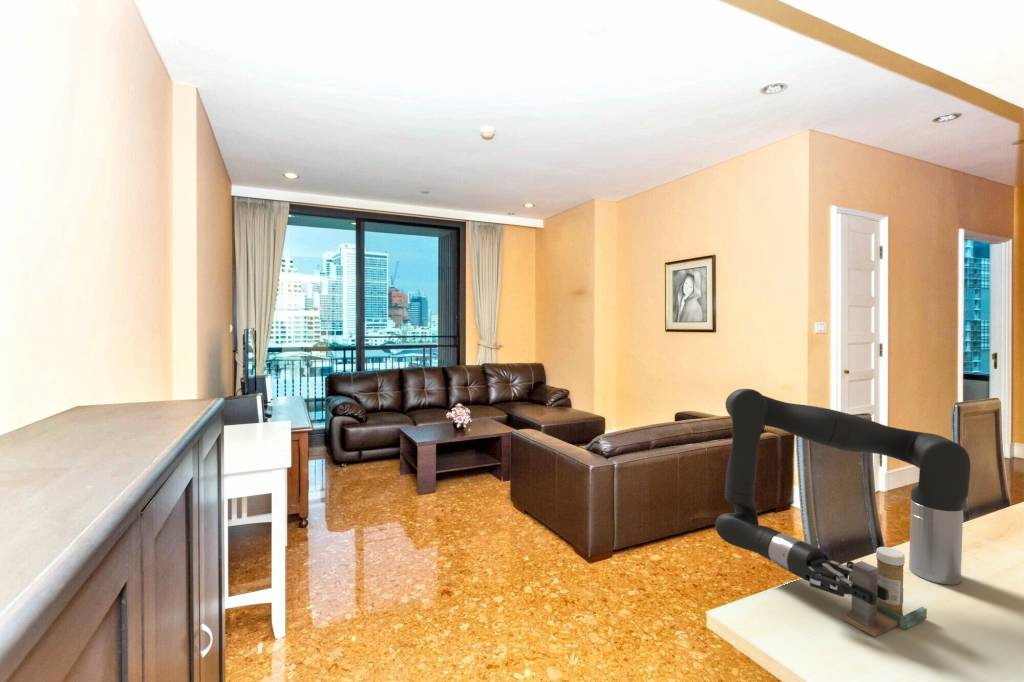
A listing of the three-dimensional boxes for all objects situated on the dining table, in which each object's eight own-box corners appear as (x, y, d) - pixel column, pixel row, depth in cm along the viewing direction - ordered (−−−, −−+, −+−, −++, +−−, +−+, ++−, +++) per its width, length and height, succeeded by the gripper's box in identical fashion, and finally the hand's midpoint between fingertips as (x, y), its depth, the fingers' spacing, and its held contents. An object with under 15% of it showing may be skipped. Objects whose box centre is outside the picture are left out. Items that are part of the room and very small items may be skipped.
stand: (879, 596, 104) (880, 542, 103) (926, 618, 96) (928, 560, 95) (835, 615, 97) (836, 558, 97) (882, 640, 90) (883, 579, 89)
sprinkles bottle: (906, 616, 97) (908, 552, 97) (898, 624, 95) (899, 559, 94) (879, 604, 101) (881, 543, 100) (871, 612, 99) (872, 549, 98)
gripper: (775, 546, 104) (859, 587, 88) (817, 534, 110) (903, 570, 94) (774, 579, 104) (858, 626, 89) (817, 566, 110) (902, 607, 94)
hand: (881, 597), depth 91 cm, fingers closed on stand, 3 cm apart
